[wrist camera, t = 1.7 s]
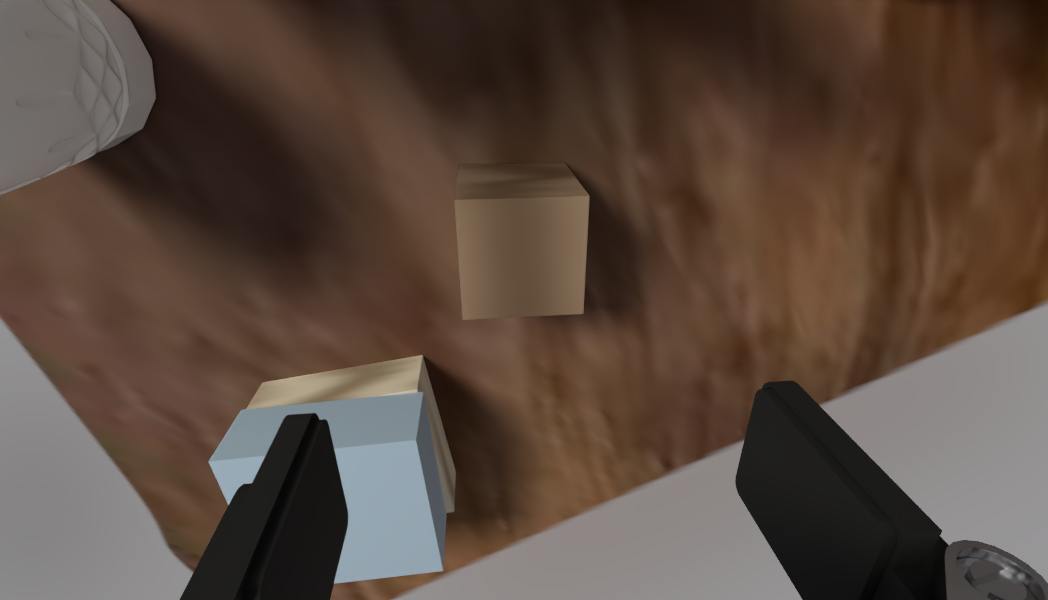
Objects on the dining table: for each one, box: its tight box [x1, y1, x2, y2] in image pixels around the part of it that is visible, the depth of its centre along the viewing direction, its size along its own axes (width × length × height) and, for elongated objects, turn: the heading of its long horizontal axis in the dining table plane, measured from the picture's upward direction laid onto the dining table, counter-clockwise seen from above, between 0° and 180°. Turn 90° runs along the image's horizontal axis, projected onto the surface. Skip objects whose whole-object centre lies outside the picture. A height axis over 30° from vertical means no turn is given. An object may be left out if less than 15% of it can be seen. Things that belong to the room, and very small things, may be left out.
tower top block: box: [209, 392, 447, 583], centre depth 26 cm, size 9×9×4 cm
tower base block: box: [246, 355, 456, 513], centre depth 29 cm, size 9×9×4 cm
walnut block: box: [455, 162, 590, 320], centre depth 23 cm, size 5×5×6 cm
